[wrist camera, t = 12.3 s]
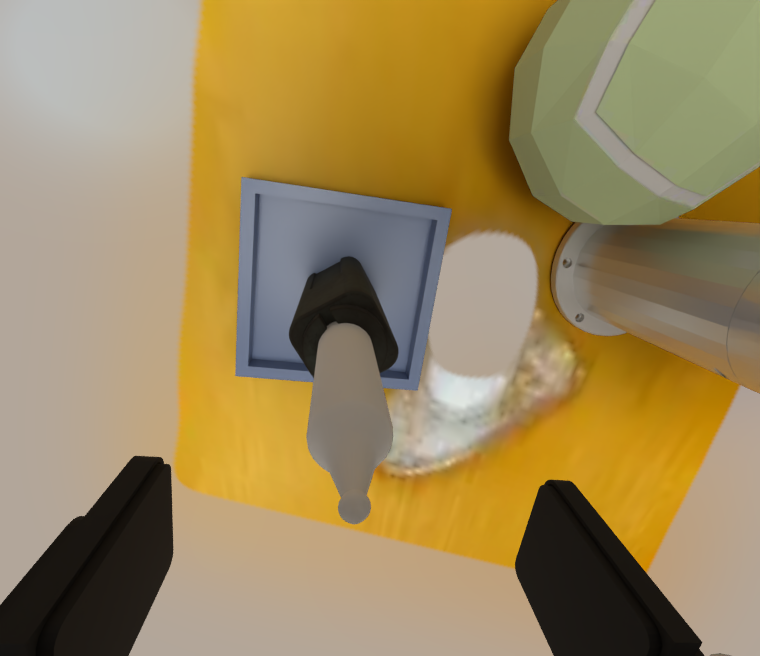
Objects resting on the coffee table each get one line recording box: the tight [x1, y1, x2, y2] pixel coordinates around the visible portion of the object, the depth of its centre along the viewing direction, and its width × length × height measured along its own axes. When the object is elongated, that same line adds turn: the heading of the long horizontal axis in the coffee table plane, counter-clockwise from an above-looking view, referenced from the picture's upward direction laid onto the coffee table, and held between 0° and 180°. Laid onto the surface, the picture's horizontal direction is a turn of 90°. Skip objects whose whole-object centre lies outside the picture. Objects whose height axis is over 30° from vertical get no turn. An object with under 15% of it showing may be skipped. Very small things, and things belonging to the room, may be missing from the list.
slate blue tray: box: [236, 177, 452, 390], centre depth 33 cm, size 16×16×2 cm
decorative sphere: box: [509, 0, 760, 225], centre depth 24 cm, size 15×15×15 cm
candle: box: [289, 256, 399, 524], centre depth 21 cm, size 5×5×25 cm
